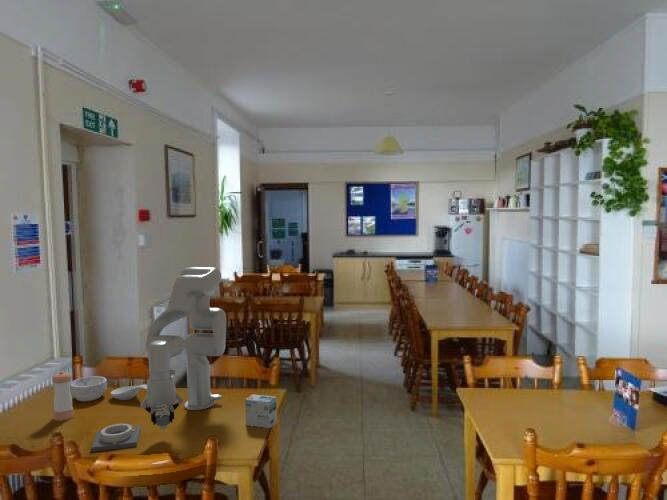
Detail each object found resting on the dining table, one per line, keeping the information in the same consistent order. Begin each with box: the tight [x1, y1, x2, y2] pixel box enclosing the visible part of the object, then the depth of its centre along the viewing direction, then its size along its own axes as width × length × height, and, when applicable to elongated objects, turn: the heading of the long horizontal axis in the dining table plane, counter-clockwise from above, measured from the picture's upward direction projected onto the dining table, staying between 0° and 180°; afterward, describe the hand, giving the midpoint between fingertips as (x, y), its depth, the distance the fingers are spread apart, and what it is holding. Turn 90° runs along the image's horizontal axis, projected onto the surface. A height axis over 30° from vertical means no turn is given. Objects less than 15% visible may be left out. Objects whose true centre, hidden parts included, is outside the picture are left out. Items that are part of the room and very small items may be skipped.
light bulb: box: [154, 403, 171, 431], centre depth 192 cm, size 6×6×12 cm
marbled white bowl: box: [70, 375, 108, 402], centre depth 236 cm, size 15×15×8 cm
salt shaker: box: [51, 370, 74, 422], centre depth 213 cm, size 7×7×19 cm
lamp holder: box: [90, 423, 141, 453], centre depth 191 cm, size 15×15×4 cm
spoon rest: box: [110, 383, 147, 401], centre depth 234 cm, size 24×12×7 cm, turn 68°
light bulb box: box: [244, 393, 278, 430], centre depth 204 cm, size 11×7×11 cm, turn 71°
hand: (163, 421), depth 192 cm, fingers closed on light bulb, 5 cm apart
